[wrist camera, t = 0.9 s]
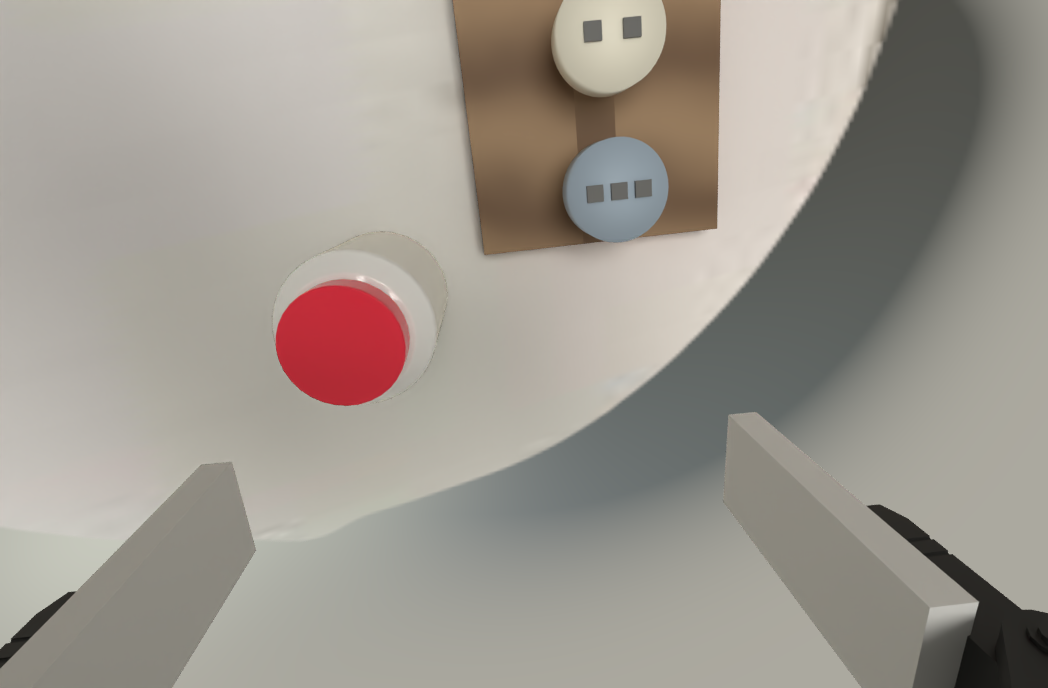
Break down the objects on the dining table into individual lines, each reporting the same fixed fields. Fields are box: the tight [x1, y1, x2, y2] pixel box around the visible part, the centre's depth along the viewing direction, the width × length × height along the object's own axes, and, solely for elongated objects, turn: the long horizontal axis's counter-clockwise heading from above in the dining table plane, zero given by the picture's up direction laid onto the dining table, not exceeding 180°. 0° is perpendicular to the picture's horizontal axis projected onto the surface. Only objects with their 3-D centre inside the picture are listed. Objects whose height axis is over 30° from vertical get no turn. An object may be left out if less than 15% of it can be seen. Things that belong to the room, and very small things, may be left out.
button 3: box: [563, 137, 668, 242], centre depth 27 cm, size 5×5×4 cm
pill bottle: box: [272, 231, 448, 406], centre depth 27 cm, size 8×8×11 cm
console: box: [453, 0, 721, 255], centre depth 29 cm, size 20×14×2 cm
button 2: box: [551, 0, 666, 97], centre depth 25 cm, size 5×5×4 cm
